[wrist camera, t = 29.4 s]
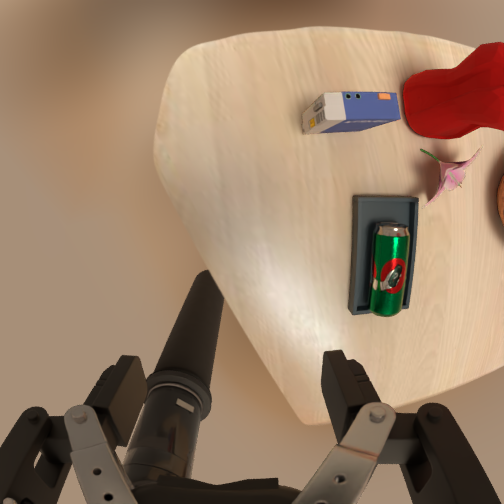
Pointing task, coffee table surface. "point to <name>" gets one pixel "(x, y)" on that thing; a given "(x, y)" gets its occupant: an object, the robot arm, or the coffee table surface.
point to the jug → (501, 199)
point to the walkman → (350, 112)
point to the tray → (364, 223)
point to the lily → (450, 174)
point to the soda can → (388, 268)
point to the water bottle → (458, 96)
